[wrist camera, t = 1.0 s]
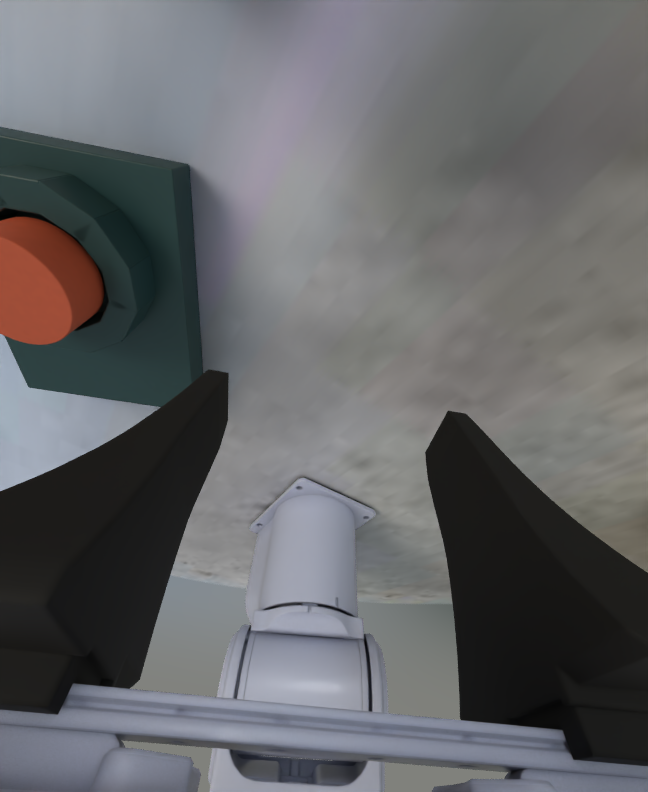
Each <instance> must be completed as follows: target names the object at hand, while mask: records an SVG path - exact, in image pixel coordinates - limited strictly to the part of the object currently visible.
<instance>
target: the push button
mask: <svg viewBox="0 0 648 792" xmlns="http://www.w3.org/2000/svg"><path fill="white" fill-rule="evenodd" d="M103 300H104V285H103V280H102V277H101V274H100V272H99V270H98V268H97V266H96V264H95V262H94V261H93V259H92V258H91V256H90V255H89V254H88V253H87V251H86V250H85V249H84V248H83V247H82V246H81V245H80V244H79V243H78V242H77V241H76V240H75V239H74V238H73V237H71V236H70V235H69V234H67V233H66V232H65V231H63V230H61V229H60V228H58V227H56V226H54V225H52V224H50V223H48V222H45V221H43V220H40V219H36V218H32V217H13V218H9V219H5V220H1V221H0V334H3V335H5V336H7V337H9V338H12V339H14V340H17V341H20V342H24V343H28V344H36V345H46V344H52V343H56V342H58V341H60V340H62V339H63V338H65V337H66V336H67V335H68V334H70V333H71V332H72V331H74V330H75V329H76V328H78V327H79V326H80V325H81V324H83V323H84V322H85V321H87V320H88V319H89V318H90V317H92V316H93V315H94V314H96V313H97V312H98V310H99V309H100V307H101V306H102V303H103Z"/></svg>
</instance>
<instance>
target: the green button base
mask: <svg viewBox="0 0 648 792" xmlns="http://www.w3.org/2000/svg"><path fill="white" fill-rule="evenodd" d="M13 217H32V218H36V219H40V220H43V221H45V222H48V223H50V224H52V225H54V226H56V227H58V228H60V229H61V230H63V231H65V232H66V233H67V234H69V235H70V236H71V237H73V238H74V239H75V240H76V241H77V242H78V243H79V244H80V245H81V246H82V247H83V248H84V249H85V250H86V251H87V253H88V254H89V255H90V256H91V258H92V259H93V261H94V262H95V264H96V266H97V268H98V270H99V272H100V274H101V277H102V280H103V285H104V300H103V303H102V306H101V307H100V309H99V310H98V312H97V313H96V314H94V315H93V316H92V317H90V318H89V319H88V320H87V321H85V322H84V323H83V324H81V325H80V326H79V327H78V328H76V329H75V330H74V331H72V332H71V333H70V334H68V335H67V336H66V337H65V338H63V339H62V340H60V341H58V342H56V343H52V344H46V345H36V344H28V343H24V342H20V341H17V340H14V339H12V338H9V337H7V336H5V335H4V336H5V338H6V340H7V342H8V344H9V346H10V349H11V351H12V353H13V355H14V357H15V359H16V361H17V364H18V366H19V368H20V370H21V372H22V374H23V376H24V379H25V381H26V383H27V385H28V387H30V388H36V389H43V390H50V391H57V392H63V393H70V394H77V395H84V396H90V397H97V398H104V399H111V400H117V401H124V402H131V403H138V404H144V405H151V406H158V407H162V406H163V405H165V404H166V403H167V402H169V401H170V400H171V399H173V398H174V397H175V396H176V395H178V394H179V393H180V392H182V391H183V390H184V389H185V388H186V387H188V386H189V385H190V384H191V383H193V382H194V381H195V380H196V379H197V378H199V377H200V376H201V375H202V374H203V367H202V351H201V336H200V321H199V306H198V290H197V275H196V260H195V245H194V229H193V214H192V199H191V184H190V169H189V165H188V164H184V163H179V162H174V161H169V160H164V159H159V158H154V157H149V156H144V155H139V154H134V153H129V152H124V151H119V150H114V149H109V148H104V147H98V146H93V145H88V144H83V143H78V142H73V141H68V140H63V139H58V138H53V137H48V136H43V135H38V134H33V133H28V132H23V131H18V130H13V129H8V128H3V127H0V221H1V220H5V219H9V218H13Z"/></svg>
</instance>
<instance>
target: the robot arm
mask: <svg viewBox="0 0 648 792" xmlns="http://www.w3.org/2000/svg"><path fill="white" fill-rule="evenodd" d="M227 421H228V373H226V372H220V371H214V370H208V371H206V372H205V373H203V374H202V375H201V376H200V377H199V378H197V379H196V380H195V381H194V382H193V383H191V384H190V385H189V386H188V387H186V388H185V389H184V390H183V391H182V392H180V393H179V394H178V395H176V396H175V397H174V398H173V399H171V400H170V401H169V402H167V403H166V404H165V405H163V406H162V407H161V408H159V409H158V410H157V411H155V412H154V413H152V414H151V415H149V416H148V417H146V418H145V419H144V420H142V421H141V422H139V423H138V424H136V425H135V426H133V427H132V428H130V429H128V430H127V431H125V432H124V433H122V434H120V435H119V436H117V437H115V438H114V439H112V440H110V441H108V442H107V443H105V444H103V445H101V446H100V447H98V448H96V449H94V450H92V451H90V452H88V453H86V454H84V455H82V456H80V457H78V458H76V459H74V460H72V461H70V462H68V463H65V464H63V465H61V466H59V467H57V468H55V469H53V470H51V471H48V472H46V473H44V474H42V475H39V476H37V477H35V478H32V479H30V480H27V481H25V482H23V483H20V484H18V485H15V486H13V487H10V488H8V489H5V490H3V491H0V792H197V790H198V785H199V781H200V776H201V773H200V771H199V769H197V768H195V767H193V764H194V763H193V761H192V759H191V757H185V756H179V755H173V754H167V753H161V752H154V751H148V750H142V749H134V748H125V746H124V744H123V742H122V741H121V740H123V741H136V742H148V743H160V744H172V745H185V746H196V747H208V748H212V755H211V761H210V768H209V774H208V781H209V783H210V785H211V786H210V792H384V790H385V762H389V763H402V764H413V765H426V766H437V767H450V768H462V769H473V770H486V771H498V772H509V773H508V774H507V775H506V776H505V779H471V780H469V781H467V782H465V783H461V784H456V785H447V786H437V787H434V788H433V790H432V792H648V573H647V572H646V571H644V570H643V569H641V568H640V567H638V566H637V565H635V564H634V563H632V562H631V561H629V560H628V559H626V558H625V557H624V556H622V555H621V554H619V553H618V552H617V551H615V550H614V549H612V548H611V547H610V546H608V545H607V544H606V543H604V542H603V541H602V540H600V539H599V538H598V537H596V536H595V535H594V534H592V533H591V532H590V531H588V530H587V529H586V528H584V527H583V526H582V525H581V524H579V523H578V522H577V521H576V520H574V519H573V518H572V517H571V516H570V515H568V514H567V513H566V512H565V511H564V510H563V509H561V508H560V507H559V506H558V505H557V504H556V503H554V502H553V501H552V500H551V499H550V498H549V497H548V496H546V495H545V494H544V493H543V492H542V491H541V490H540V489H539V488H538V487H537V486H536V485H535V484H534V483H533V482H532V481H531V480H529V479H528V478H527V477H526V476H525V475H524V474H523V473H522V472H521V471H520V470H519V469H518V468H517V467H516V466H515V465H514V464H513V463H512V462H511V461H510V459H509V458H508V457H507V456H506V455H505V454H504V453H503V452H502V451H501V450H500V449H499V448H498V447H497V446H496V445H495V444H494V442H493V441H492V440H491V439H490V438H489V437H488V436H487V435H486V434H485V433H484V432H483V431H482V430H481V429H480V427H479V426H478V425H477V424H476V423H475V422H474V421H473V420H472V419H471V418H470V417H469V416H468V415H466V414H464V413H458V412H452V411H448V412H447V414H446V416H445V417H444V419H443V421H442V423H441V425H440V427H439V428H438V430H437V432H436V434H435V436H434V438H433V439H432V441H431V443H430V445H429V447H428V449H427V450H426V452H425V453H426V465H427V474H428V481H429V486H430V490H431V494H432V498H433V502H434V506H435V510H436V514H437V518H438V522H439V526H440V530H441V534H442V538H443V542H444V547H445V552H446V557H447V564H448V571H449V578H450V585H451V593H452V602H453V610H454V619H455V631H456V643H457V655H458V673H459V694H460V719H461V720H453V719H442V718H431V717H421V716H411V715H400V714H390V713H388V690H387V679H386V670H385V663H384V658H383V653H382V650H381V648H380V646H379V644H378V643H377V642H376V641H375V639H374V637H373V635H371V634H364V628H363V618H358V607H357V576H356V546H355V530H356V529H357V528H359V527H360V526H362V525H363V524H365V523H366V522H367V521H369V520H370V519H372V518H373V517H374V516H375V510H373V509H371V508H369V507H367V506H365V505H363V504H360V503H358V502H356V501H354V500H352V499H350V498H347V497H345V496H343V495H341V494H339V493H337V492H334V491H332V490H330V489H328V488H326V487H323V486H321V485H319V484H317V483H315V482H313V481H310V480H308V479H306V478H299V479H298V480H296V481H295V482H294V483H293V484H292V485H291V486H290V487H289V488H288V489H287V490H286V491H285V492H284V493H283V494H282V495H281V496H280V497H279V498H278V499H277V500H276V501H275V502H274V503H273V504H272V505H270V506H269V507H268V508H267V509H266V510H265V511H264V512H263V513H262V514H261V515H260V516H259V517H258V518H257V519H256V520H255V521H254V522H253V523H252V524H251V525H250V528H249V529H250V530H251V531H252V532H254V533H257V534H258V536H257V541H256V546H255V551H254V555H253V560H252V565H251V570H250V575H249V580H248V585H247V590H246V596H245V607H246V612H247V616H248V619H249V621H250V624H251V625H246V624H245V625H242V626H241V628H240V629H239V630H238V631H237V632H236V633H235V634H234V635H233V637H232V639H231V641H230V644H229V646H228V650H227V653H226V656H225V661H224V664H223V668H222V673H221V678H220V683H219V688H218V694H217V697H211V696H199V695H190V694H178V693H168V692H158V691H147V690H137V689H130V688H131V687H132V686H133V685H134V684H135V683H137V682H138V681H139V680H140V677H141V673H142V669H143V666H144V662H145V659H146V655H147V652H148V648H149V644H150V641H151V637H152V634H153V630H154V627H155V623H156V620H157V617H158V613H159V610H160V607H161V603H162V600H163V596H164V593H165V590H166V587H167V583H168V580H169V577H170V574H171V571H172V568H173V564H174V561H175V558H176V555H177V552H178V549H179V546H180V543H181V540H182V537H183V534H184V531H185V528H186V525H187V522H188V519H189V517H190V514H191V511H192V509H193V507H194V504H195V502H196V500H197V498H198V495H199V493H200V491H201V489H202V486H203V484H204V482H205V480H206V477H207V475H208V473H209V471H210V469H211V466H212V464H213V462H214V459H215V457H216V455H217V453H218V450H219V448H220V445H221V442H222V438H223V435H224V432H225V428H226V425H227ZM261 755H262V756H261ZM269 756H276V757H269ZM284 757H291V758H284ZM299 758H306V759H299ZM313 759H321V760H313ZM328 760H333V761H328Z"/></svg>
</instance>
